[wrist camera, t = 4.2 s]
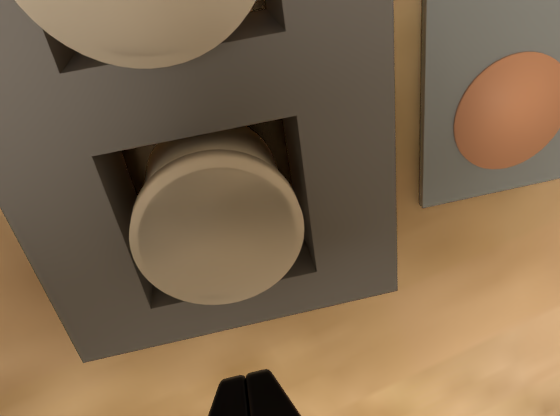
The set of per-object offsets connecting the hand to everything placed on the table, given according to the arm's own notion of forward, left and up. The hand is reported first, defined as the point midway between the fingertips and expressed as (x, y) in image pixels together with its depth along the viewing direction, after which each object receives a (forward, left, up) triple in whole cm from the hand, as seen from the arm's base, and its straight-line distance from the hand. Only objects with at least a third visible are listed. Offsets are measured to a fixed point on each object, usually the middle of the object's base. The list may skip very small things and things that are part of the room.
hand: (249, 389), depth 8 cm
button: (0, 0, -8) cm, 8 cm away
